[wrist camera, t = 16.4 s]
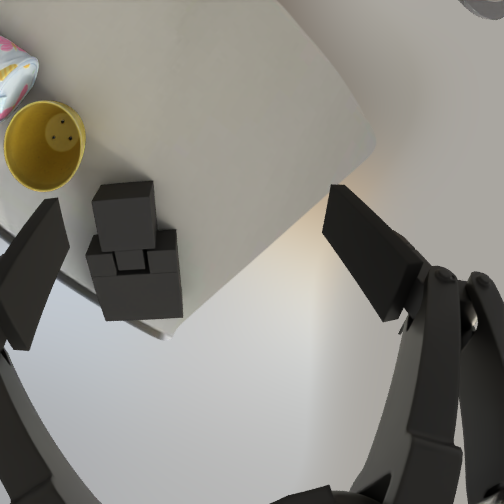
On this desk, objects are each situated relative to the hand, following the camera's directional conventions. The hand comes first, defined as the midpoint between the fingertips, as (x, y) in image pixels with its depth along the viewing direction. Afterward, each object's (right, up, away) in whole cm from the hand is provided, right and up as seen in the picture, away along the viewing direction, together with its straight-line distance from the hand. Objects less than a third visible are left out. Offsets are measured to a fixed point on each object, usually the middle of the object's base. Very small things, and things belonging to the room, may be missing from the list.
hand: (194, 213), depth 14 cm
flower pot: (-21, +13, +17) cm, 30 cm away
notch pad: (-14, -4, +30) cm, 33 cm away
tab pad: (-14, +3, +25) cm, 29 cm away
